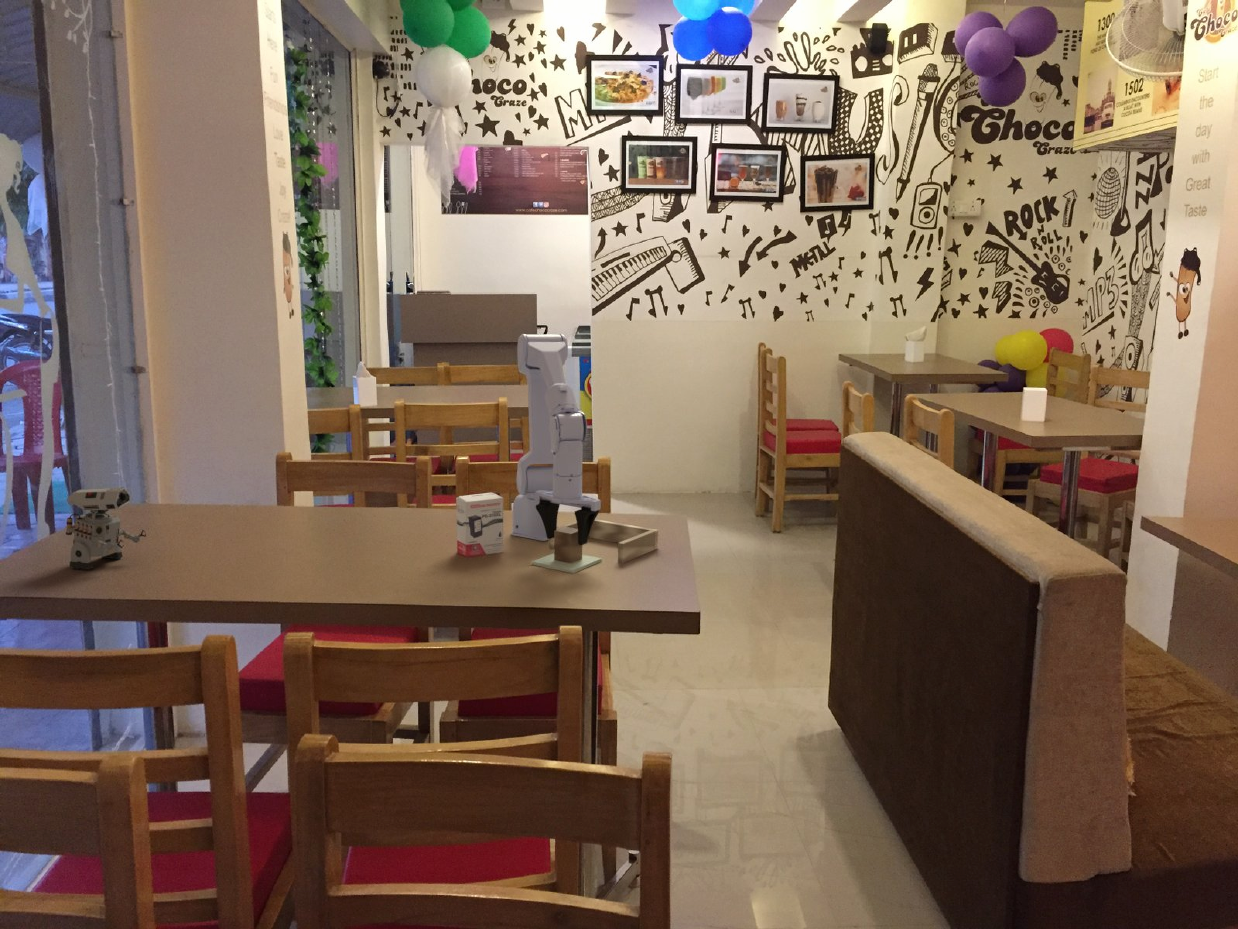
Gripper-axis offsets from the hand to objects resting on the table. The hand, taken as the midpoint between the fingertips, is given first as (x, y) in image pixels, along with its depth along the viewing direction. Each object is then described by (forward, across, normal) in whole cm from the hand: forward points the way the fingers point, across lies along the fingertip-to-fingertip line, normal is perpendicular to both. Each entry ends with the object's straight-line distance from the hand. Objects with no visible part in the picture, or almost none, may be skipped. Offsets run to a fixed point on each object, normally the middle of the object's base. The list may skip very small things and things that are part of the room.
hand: (566, 540), depth 199 cm
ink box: (+5, -19, -4) cm, 20 cm away
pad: (+4, 0, 0) cm, 5 cm away
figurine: (+5, -71, -53) cm, 89 cm away
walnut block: (+4, 0, 0) cm, 4 cm away
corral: (+5, 0, +13) cm, 14 cm away
